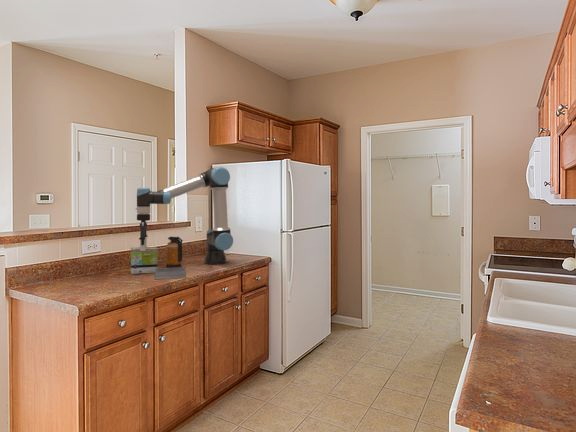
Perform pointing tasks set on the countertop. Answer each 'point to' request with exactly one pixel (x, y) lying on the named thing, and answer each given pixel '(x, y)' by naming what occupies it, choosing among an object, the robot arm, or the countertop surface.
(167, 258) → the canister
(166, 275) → the grey flat slab
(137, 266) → the tea box
